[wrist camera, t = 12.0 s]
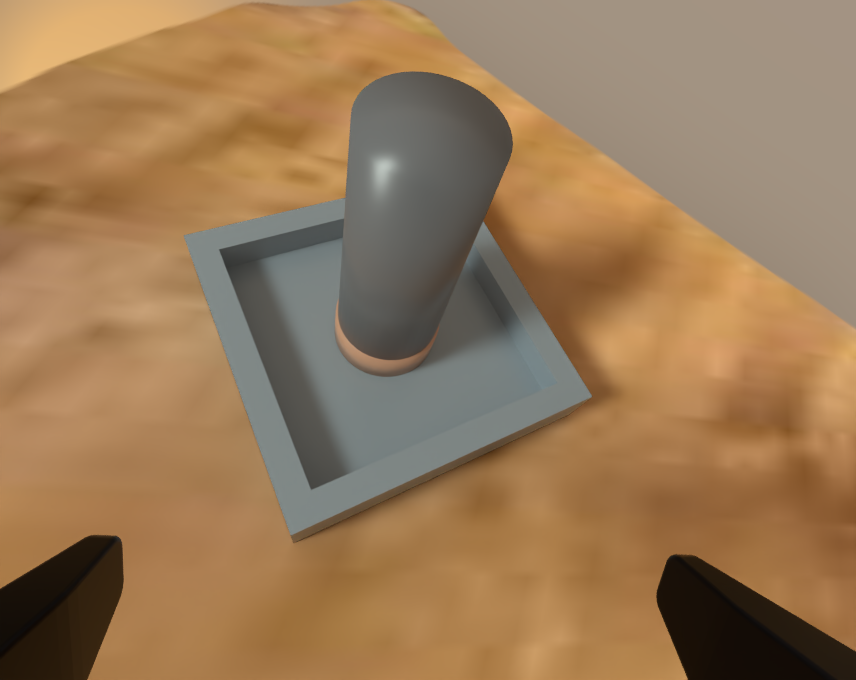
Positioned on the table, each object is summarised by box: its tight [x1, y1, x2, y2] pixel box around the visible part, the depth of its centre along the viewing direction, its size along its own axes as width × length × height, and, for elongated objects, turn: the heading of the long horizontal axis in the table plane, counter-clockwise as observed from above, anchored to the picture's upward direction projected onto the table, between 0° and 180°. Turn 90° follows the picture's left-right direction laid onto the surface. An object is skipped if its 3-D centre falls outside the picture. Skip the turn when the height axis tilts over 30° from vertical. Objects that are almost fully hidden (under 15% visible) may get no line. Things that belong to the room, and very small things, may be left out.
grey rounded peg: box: [335, 72, 513, 377], centre depth 19 cm, size 5×5×12 cm
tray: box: [184, 198, 592, 543], centre depth 24 cm, size 14×14×2 cm
